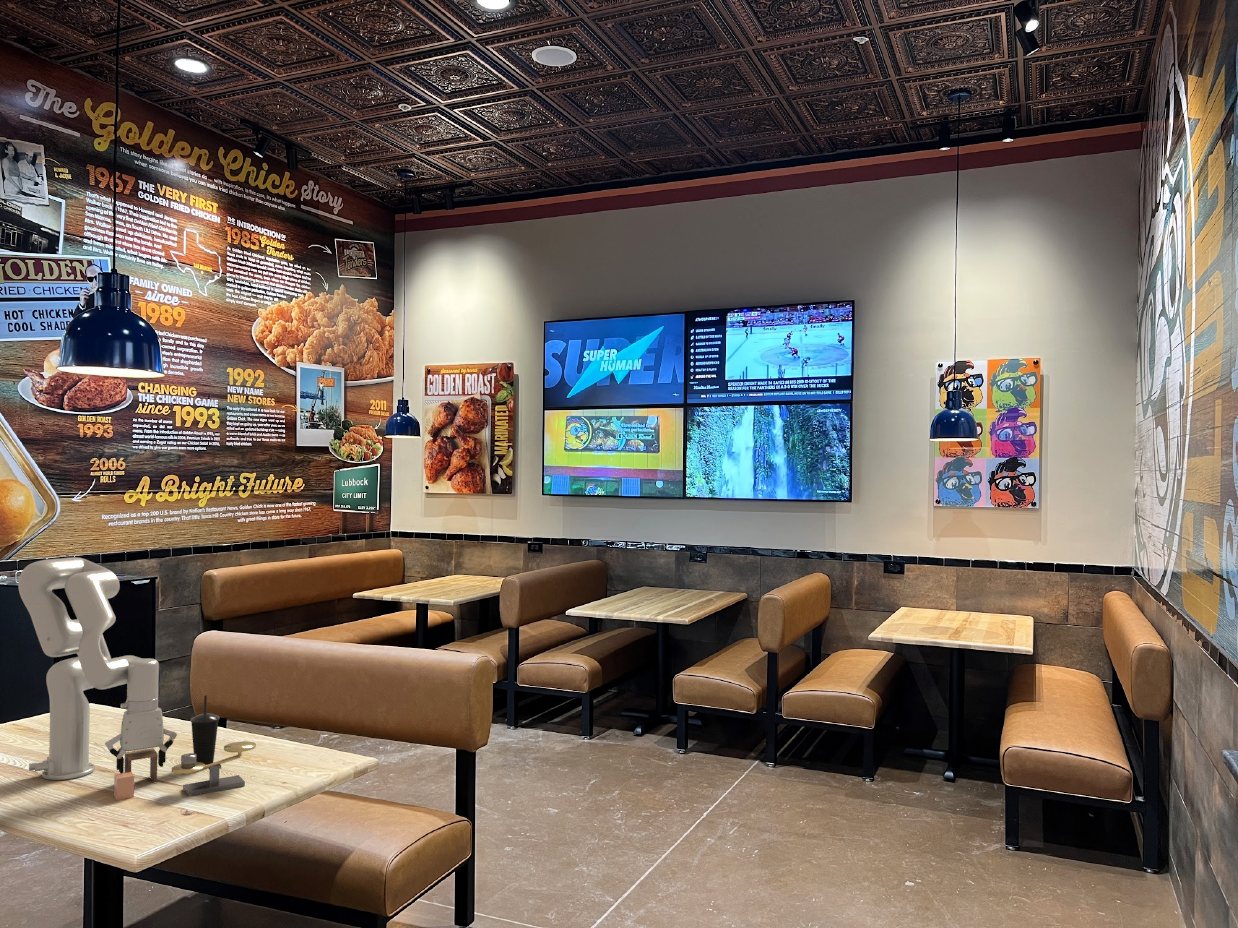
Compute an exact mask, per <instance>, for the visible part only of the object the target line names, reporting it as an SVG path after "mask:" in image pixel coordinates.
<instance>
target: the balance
mask: <svg viewBox="0 0 1238 928" xmlns="http://www.w3.org/2000/svg"><path fill="white" fill-rule="evenodd" d="M256 747H257V743H256V742H254V741H245V740H244V741H236V742H235V741H234V742H231V743H228V744H225V745H224V746H223V750H224V751H225V752H227V753H237V754H235V755H233V756H230V757H229V756H228V757H227V758H223V759H221V760H217V761H214V762H213V763H211V764H208V765H205V764H204V763H200V762H196V754H194V752H191V753H184V754H181V756H180V763H179V764H176V765H174V766H172V767H171V773H172V774H176V775H192V774H195V773H198V772H202V771H204V770H207V769H208V770H209V775H208V776H209V779H208V780H203V781H195V782H193V783H186V784H182V790H183V792H184V793H185V792H186V793H187V794H186V793H185V794H186V795H187V797H190V796H189V795H193V796H197V795H203V794H202V793H204V794H208V792H209V793H214V792H218V791H219V790H220V791H224V789H226V790H228V789H227V788H231V789H235V788H234V787H237V788H242V787H245V786H246V784H245V783H246V781H245V779H243V778H242V777H241V776H240V775H239V774H238V775H232V776H226V777H220V769H222V764H225V763H228V762H232V761H235V760H237V759H240V758H241V757H242V756H243V754H242V753H244V752H248V751H251V750H254V749H256ZM200 793H201V794H200Z"/></svg>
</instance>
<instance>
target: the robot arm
mask: <svg viewBox="0 0 1238 928" xmlns="http://www.w3.org/2000/svg"><path fill="white" fill-rule="evenodd" d="M120 588H121V587H120V580H119V578H118V576H117V575H116V574H115V573H114V572H113V571H112V570H111V569H108V568H106V567H104V566H102V565H100V564H97V563H95V562H93V561H90V560H88V559H85V558H82V557H73V556H72V557H64V558H63V557H61V558H51V559H42V560H37V561H35V562H32V563H29V564H28V565H27V566H25V567H24V568H23V570H22V571H21V573H20V574H19V578H18V591H19V596H20V598H21V600H22V602H23V604H24V606H25V608H26V609H27V611H28V613H29V615H30V618H31V621H32V624H33V627H34V629H35V634H36V636H37V638H38V642H39V645H40V646H41V647H40V648H42V649H41V650H42V651H43V654H44V655H46V656H48V657H50V658H57V657H58V658H60V657H64V656H65V657H66V656H69V655H70V656H71V655H73V654H74V655H75V654H76V655H77V656H76V657H71V658H67V659H64V660H60V661H59V662H55V663H54V664H53V665H52V666H51V667H50V668H49V669H48V671H47V673H46V679H45V680H46V686H47V692H48V696H49V741H48V742H49V743H48V746H49V747H48V751H49V752H48V756H47V757H46V759H45V760H42V762H41V761H40V762H31V763H29V764H28V772H32V771H34V772H40V771H42V772H41V777H42V778H43V779H46V780H53V781H61V780H69V779H75V778H77V779H78V778H81V777H83V776H84V777H85V776H87V775H89V774H91V773H93V772H94V771H95V770H96V765H95V764H94V763H92V762H90V761H89V760H90V759H89V757H90V755H89V754H90V723H91V722H90V714H91V711H90V710H91V709H90V707H91V706H90V703H89V701H88V698H87V696H86V695H85V694H84V691H87V690H90V689H94V688H95V689H97V690H107V689H111V688H115V687H118V686H122V685H126V684H127V686H126V687H127V689H126V692H127V693H126V699H125V700H126V701H125V702H123V703H120V709H121V710H123V709H124V710H125V711H124V712H123V716H122V720H121V726H120V727H121V728H120V733H119V734H117V735H116V736H114V737H112V738H111V739H109V740H107V741H106V742H105V746H106V748H107V749H108V751H109V753H110V754H111V755H113V756H114V757H115V758H116V771H118V772H119V774H121V773H124V769H125V757H124V756H125V753H126V752H131V751H138V750H144V749H151V748H154V749H155V748H159V749H158V752H157V753H158V757H157V766H159V767H160V768H163V767H164V764H165V763H166V754H167V753H166V752H167V751H168V749H169V748H171V746H172V745H173V743H174V742H175V740H176V738H177V736H178V734H177V732H175V731H173V730H169V729H166V728H164V719H163V711H162V708H160V707H159V680H160V679H159V675H160V674H159V671H160V664H159V661H158V660H157V659H154V658H150V657H149V658H141V657H139V656H135V655H131V654H130V655H123V656H119V657H113V658H112V656H111V654H110V651H109V648H108V646H107V642H106V640H105V638H104V634H103V633H104V632H105V631H106V630H108V629H109V628H110V627H111V628H112V626H113V625H114V624H115V623H116V621H117V620H116V618H117V617H116V615H115V613H114V611H113V607H112V606H111V604H110V602H109V599H112V598H115V596H117V594H118V593H119V591H120ZM58 589H64V591H65V594H66V596H67V599H68V601H69V603H70V605H71V607H72V610H73V613H74V614H75V617H76V619H71V618H70V616H69V614H68V611H67V607H66V605H65V603H64V602H63V601H62V599H60V598H59V596H57V595H56V594H55V593H54V592H53V590H58ZM165 735H166V736H168V737H169V738H168V739H167V740H166V742H165V741H164V739H165V737H164V736H165ZM118 742H119V744H120V747H119V748H118V750H117V749H116V748H114V745H115V744H117V743H118Z"/></svg>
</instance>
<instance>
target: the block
mask: <svg viewBox="0 0 1238 928" xmlns="http://www.w3.org/2000/svg"><path fill="white" fill-rule="evenodd" d="M113 776H114V777H113V778H114V779H113V784H114V785H113V797H114V800H115V801H121V800H126V798H127V799H133V798H134V797H135V775H134V773H133V772H132V771H131V772H128V773H121V774H120V773H116V774H114V775H113ZM132 797H133V798H132Z"/></svg>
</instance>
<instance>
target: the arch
mask: <svg viewBox="0 0 1238 928" xmlns="http://www.w3.org/2000/svg"><path fill="white" fill-rule="evenodd" d="M149 758H150V760H149V761H150V764H149V778H150V777H151V778H150V779H151V781H152V780H153V781H152V782H153V783H154V782H158V752H157V751H156V749H155V747H154V748H147V749H141V750H134V751H126V753H125V754H124V773H128V772H132V762H133V761H137V760H143V759H149Z"/></svg>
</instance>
